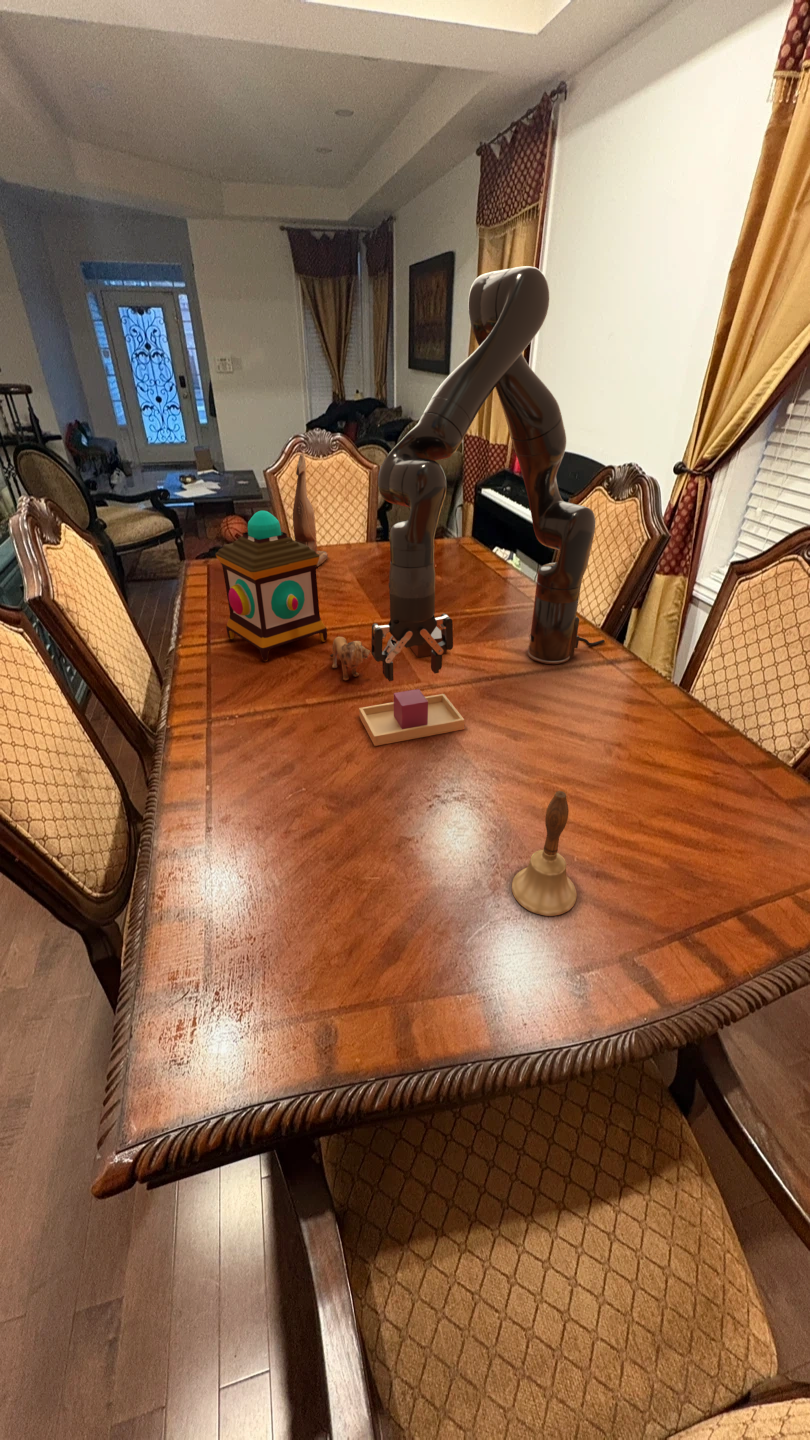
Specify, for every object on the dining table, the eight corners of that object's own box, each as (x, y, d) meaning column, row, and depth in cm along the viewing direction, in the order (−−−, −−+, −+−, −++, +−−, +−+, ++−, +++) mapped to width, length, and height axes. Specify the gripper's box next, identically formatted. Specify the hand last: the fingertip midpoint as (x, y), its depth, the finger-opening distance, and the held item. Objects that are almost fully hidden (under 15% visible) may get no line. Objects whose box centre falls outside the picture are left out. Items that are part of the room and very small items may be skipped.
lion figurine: (373, 681, 127) (372, 642, 123) (351, 688, 125) (349, 648, 120) (340, 655, 138) (338, 618, 133) (319, 661, 135) (316, 623, 130)
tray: (443, 702, 120) (443, 693, 119) (464, 729, 112) (464, 719, 111) (359, 717, 115) (359, 707, 114) (374, 746, 107) (374, 736, 106)
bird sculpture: (284, 566, 191) (272, 457, 174) (295, 555, 201) (286, 451, 184) (318, 568, 190) (310, 458, 173) (328, 557, 199) (321, 452, 182)
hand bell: (505, 869, 82) (516, 775, 74) (564, 865, 83) (583, 772, 74) (520, 918, 75) (535, 821, 67) (585, 914, 76) (608, 817, 67)
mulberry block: (418, 711, 116) (418, 688, 113) (427, 724, 112) (428, 701, 109) (393, 716, 115) (393, 693, 112) (402, 729, 111) (402, 706, 108)
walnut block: (435, 641, 144) (436, 625, 142) (446, 653, 139) (447, 637, 137) (407, 645, 142) (407, 629, 140) (417, 657, 137) (418, 641, 135)
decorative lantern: (261, 667, 133) (242, 528, 117) (219, 638, 145) (196, 509, 129) (336, 641, 144) (327, 511, 128) (291, 617, 157) (278, 495, 141)
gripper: (377, 601, 95) (380, 692, 103) (461, 590, 98) (457, 678, 107) (364, 585, 101) (368, 672, 109) (444, 575, 104) (442, 660, 113)
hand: (412, 675), depth 108 cm, fingers open, 8 cm apart
